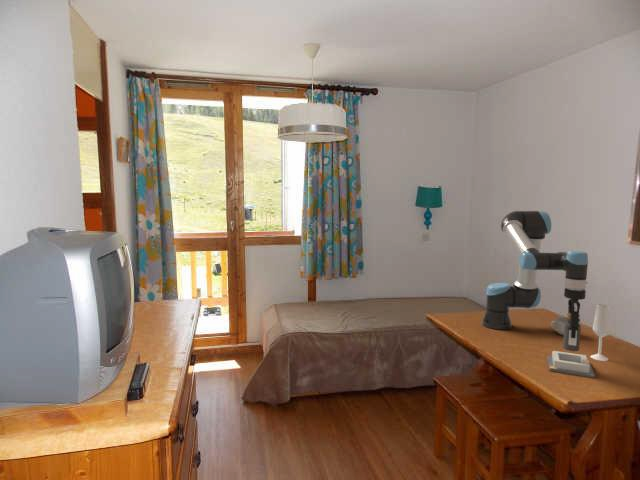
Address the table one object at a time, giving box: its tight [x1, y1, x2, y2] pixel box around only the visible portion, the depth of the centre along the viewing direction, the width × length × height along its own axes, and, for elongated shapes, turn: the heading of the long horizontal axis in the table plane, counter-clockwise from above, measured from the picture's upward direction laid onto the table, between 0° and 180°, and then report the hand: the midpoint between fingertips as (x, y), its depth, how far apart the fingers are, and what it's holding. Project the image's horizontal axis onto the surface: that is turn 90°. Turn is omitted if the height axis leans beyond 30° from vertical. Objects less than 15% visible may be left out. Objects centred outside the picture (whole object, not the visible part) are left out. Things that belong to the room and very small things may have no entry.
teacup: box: [549, 316, 580, 336], centre depth 220 cm, size 14×11×8 cm
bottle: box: [562, 312, 582, 352], centre depth 177 cm, size 6×6×15 cm
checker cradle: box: [546, 350, 596, 379], centre depth 179 cm, size 16×16×4 cm
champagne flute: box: [590, 303, 612, 362], centre depth 188 cm, size 7×7×24 cm
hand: (571, 342), depth 178 cm, fingers closed on bottle, 6 cm apart
